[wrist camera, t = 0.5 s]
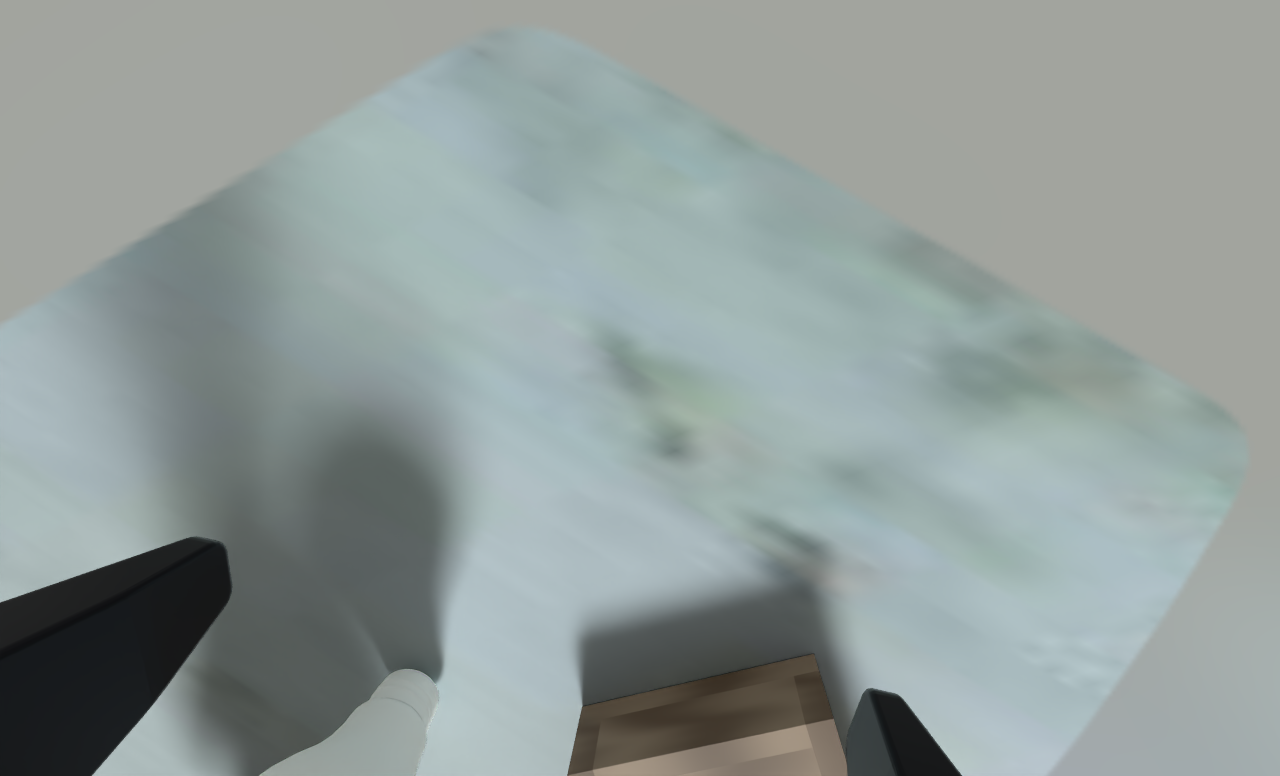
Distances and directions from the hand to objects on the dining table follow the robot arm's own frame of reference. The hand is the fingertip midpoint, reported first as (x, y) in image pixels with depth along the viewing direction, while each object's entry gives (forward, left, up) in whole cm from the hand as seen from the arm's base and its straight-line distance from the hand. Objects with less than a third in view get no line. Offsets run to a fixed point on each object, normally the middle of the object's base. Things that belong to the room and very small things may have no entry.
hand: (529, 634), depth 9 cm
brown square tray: (-1, -18, -15) cm, 23 cm away
